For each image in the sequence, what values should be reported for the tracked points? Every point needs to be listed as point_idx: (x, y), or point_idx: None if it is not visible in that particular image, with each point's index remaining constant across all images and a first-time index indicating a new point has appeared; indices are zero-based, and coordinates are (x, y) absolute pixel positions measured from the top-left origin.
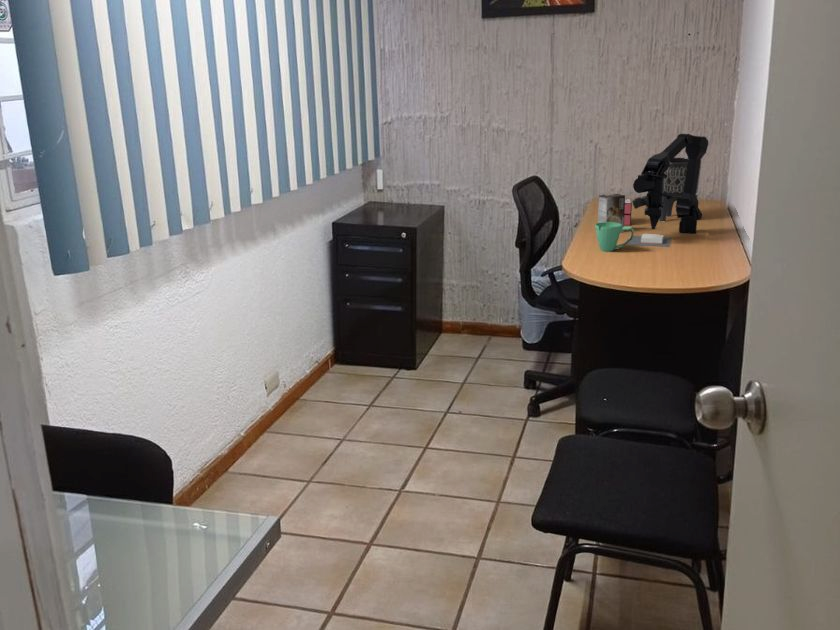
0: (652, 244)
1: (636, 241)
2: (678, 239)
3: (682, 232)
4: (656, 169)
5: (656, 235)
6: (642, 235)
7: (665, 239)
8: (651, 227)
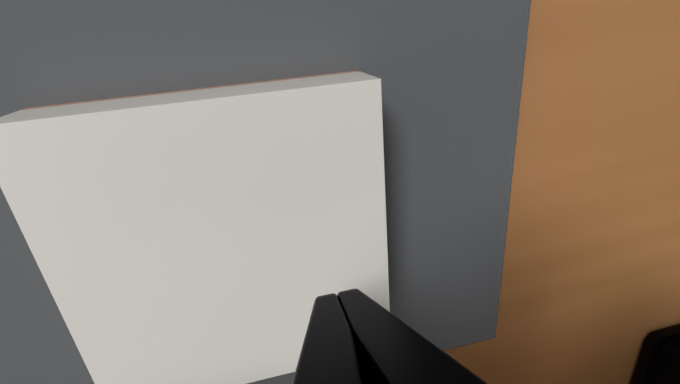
0: (17, 284)
1: (103, 11)
2: None
3: (676, 348)
4: None
5: (313, 295)
6: (232, 102)
7: None
8: (310, 317)
